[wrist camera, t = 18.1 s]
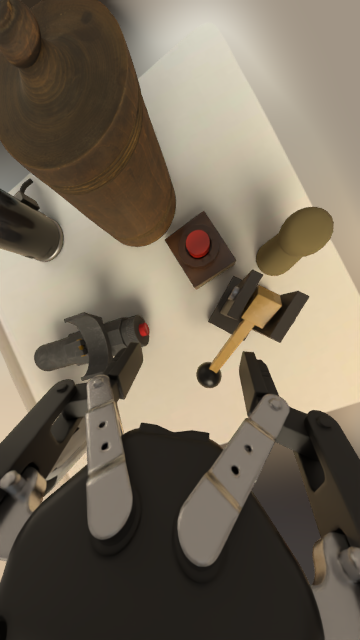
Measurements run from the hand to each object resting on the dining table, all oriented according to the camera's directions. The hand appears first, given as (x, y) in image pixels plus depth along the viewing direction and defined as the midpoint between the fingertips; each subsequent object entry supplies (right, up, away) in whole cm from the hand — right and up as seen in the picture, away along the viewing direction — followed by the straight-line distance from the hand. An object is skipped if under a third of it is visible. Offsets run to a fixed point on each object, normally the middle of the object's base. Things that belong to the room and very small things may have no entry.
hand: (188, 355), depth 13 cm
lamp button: (+2, +15, +14) cm, 20 cm away
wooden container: (-9, +25, +20) cm, 33 cm away
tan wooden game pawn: (+16, +13, +15) cm, 26 cm away
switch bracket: (+10, +5, +17) cm, 20 cm away
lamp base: (+3, +15, +18) cm, 23 cm away
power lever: (+6, 0, +8) cm, 10 cm away
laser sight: (-17, -2, +23) cm, 28 cm away
